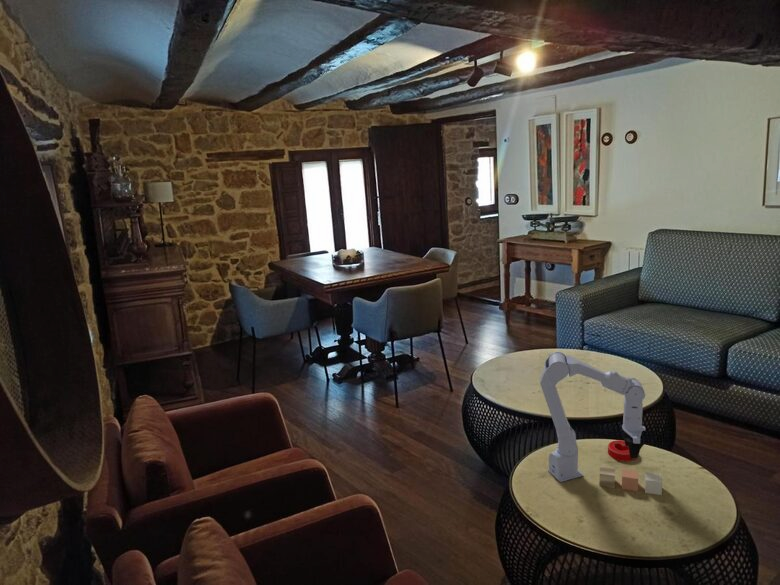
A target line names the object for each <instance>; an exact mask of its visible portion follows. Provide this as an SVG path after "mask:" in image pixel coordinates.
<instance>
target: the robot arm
mask: <svg viewBox="0 0 780 585" xmlns="http://www.w3.org/2000/svg"><path fill="white" fill-rule="evenodd" d="M577 374H578V375H581V376H584V377H587V378H590V379H592V380H594V381H598V382H600V384H601V386H602V387H603V388H605V389H607V390H610V391H612V392H615V393H618V394H620V395H622V396H624V399H623V418H622V424H620V425H619V427H620V429H621V431H622V434H623V435H622V436H623V439H624V440H623V441H625V445H626V446H628V447H629V454H630V458H635V459H638V457H639V455H640V452H641V449H642V447H644V446H645V442H646V441H645V440H644V439H641V436H642V432H643V431H646V427H645V426H644V425H642V424H643V410H644V409H643V408H644V407H643V406H644V404H643V400H644V399H646V398H645V397H646V394H645V393H646V392H645V390H644V387H643V385H642V383H641V382H640V380H638V379H637V378H635V377H626V376H623V375H621V374H619V372H618V371H616V370H613V371H612V370H607V371H602V370H600V369H598V368H596V367H593V366H591V365H590V364H588V363H586V362H584V361H581V360H579V359H577V358H576V357H573V356H571V355H569V354H564V353H563V352H561V351H554V352H552V353H551V354H549V355H548V356H547V358H546V360H545V361H544V366H543V369H542V372H541V375H540V379H539V384H540V387H541V391H542V393H543V397H544V399H545V402H546V405H547V408H548V411H549V413H550V416H551V419H552V421H553V422H552V423H553V425H554V427H555V431H556V435H557V442H558V443H557V446H556V449H554V451H552V452H550V453H549V454H548V469H547V471H548V472H549V473H550V475H552V476H553V477H554V478H555V479H556V480H558V482H560V483H562V482H565V481H569V480H573V479H576V478H580V477H583V476H584V473H583V472H581V471H580V469H579V448H578V443H577V438H576V437H577V434H576V431H575V430H574V429H573V428H572V426H571V424H570V422H569V420H568V418H567V415H566V413H565V409H564V406H563V404H562V400H561V398H560V394H559V392H558V389H557V384H558V383H559V382H560V381H562V380H563V379H565V378H566V377H567V376H569V377H570V378H571V377H572V376H576V375H577Z"/></svg>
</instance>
